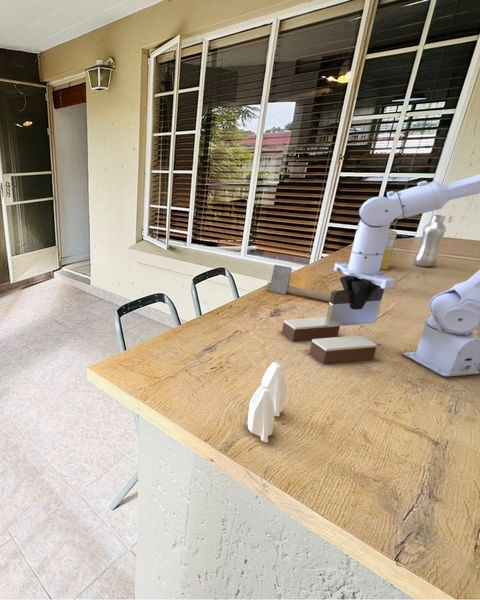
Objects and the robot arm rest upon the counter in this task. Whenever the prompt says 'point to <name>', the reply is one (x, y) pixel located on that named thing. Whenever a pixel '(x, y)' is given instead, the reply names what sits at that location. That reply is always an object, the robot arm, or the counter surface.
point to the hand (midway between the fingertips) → (353, 307)
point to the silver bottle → (431, 241)
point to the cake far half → (308, 329)
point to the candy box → (388, 250)
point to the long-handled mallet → (282, 286)
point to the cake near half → (342, 349)
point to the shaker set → (267, 402)
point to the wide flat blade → (345, 315)
